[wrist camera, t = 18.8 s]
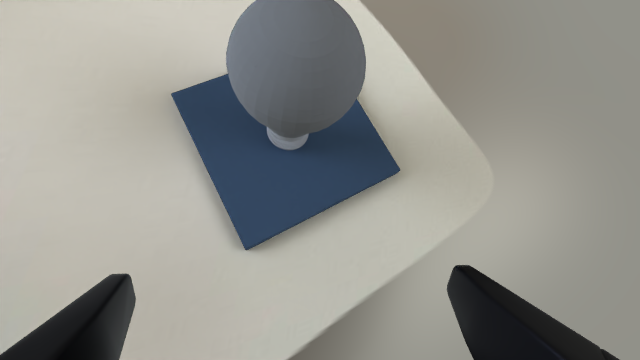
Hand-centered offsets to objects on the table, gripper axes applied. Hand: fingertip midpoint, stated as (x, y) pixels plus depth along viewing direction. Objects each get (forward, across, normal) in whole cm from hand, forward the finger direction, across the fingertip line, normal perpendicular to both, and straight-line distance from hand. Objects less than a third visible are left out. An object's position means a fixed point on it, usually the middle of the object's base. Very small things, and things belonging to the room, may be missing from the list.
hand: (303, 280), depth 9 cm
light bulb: (+13, 0, 0) cm, 13 cm away
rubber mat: (+14, 0, +1) cm, 14 cm away
